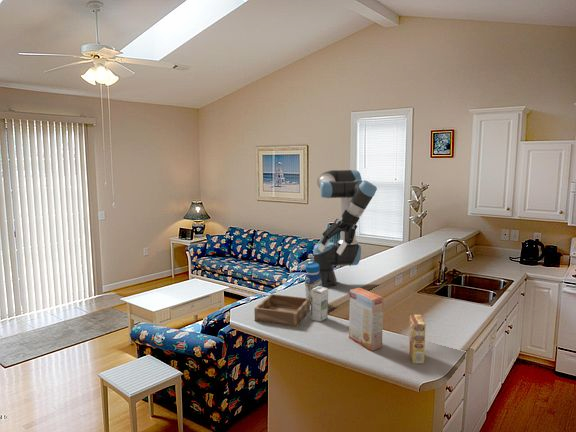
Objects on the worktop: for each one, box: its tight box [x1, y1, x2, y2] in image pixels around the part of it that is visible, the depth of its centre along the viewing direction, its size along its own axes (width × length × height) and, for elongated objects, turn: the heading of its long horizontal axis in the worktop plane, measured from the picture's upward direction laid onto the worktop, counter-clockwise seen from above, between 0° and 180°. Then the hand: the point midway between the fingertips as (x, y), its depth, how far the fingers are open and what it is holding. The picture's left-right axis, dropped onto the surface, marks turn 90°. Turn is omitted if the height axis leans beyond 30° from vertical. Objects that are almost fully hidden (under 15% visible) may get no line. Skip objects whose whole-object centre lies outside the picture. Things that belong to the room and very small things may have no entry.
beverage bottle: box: [304, 262, 322, 306], centre depth 211 cm, size 8×8×20 cm
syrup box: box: [310, 286, 329, 323], centre depth 192 cm, size 6×6×14 cm
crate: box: [254, 293, 311, 328], centre depth 197 cm, size 20×20×6 cm
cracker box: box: [348, 287, 384, 352], centre depth 168 cm, size 14×6×21 cm, turn 30°
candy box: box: [408, 314, 426, 365], centre depth 156 cm, size 9×4×15 cm, turn 174°
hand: (329, 252), depth 195 cm, fingers open, 13 cm apart
